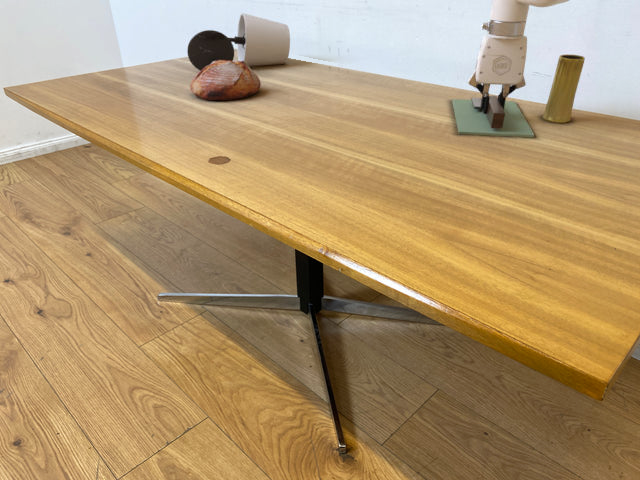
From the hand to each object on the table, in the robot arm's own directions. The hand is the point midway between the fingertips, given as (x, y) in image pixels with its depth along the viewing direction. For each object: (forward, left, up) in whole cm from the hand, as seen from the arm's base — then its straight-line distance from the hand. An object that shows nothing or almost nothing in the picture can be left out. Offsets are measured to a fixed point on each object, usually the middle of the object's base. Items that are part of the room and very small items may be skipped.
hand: (491, 111), depth 115 cm
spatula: (0, -1, -1) cm, 1 cm away
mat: (0, -2, -2) cm, 3 cm away
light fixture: (+77, -47, -2) cm, 90 cm away
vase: (-16, -3, -2) cm, 16 cm away
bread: (+71, -14, -2) cm, 72 cm away
